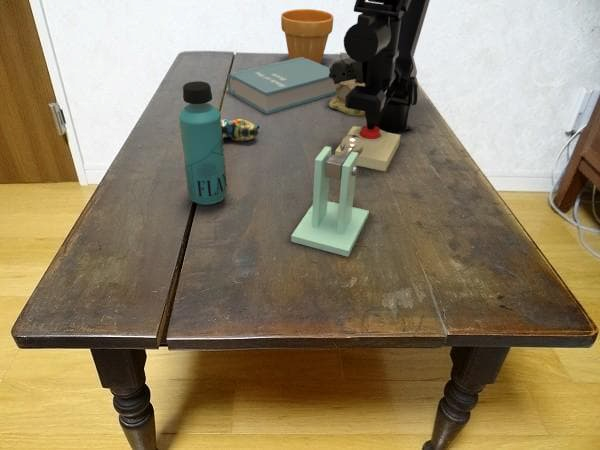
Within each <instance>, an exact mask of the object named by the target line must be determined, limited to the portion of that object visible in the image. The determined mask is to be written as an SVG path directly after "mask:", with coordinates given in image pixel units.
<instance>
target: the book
mask: <svg viewBox="0 0 600 450" xmlns="http://www.w3.org/2000/svg"><path fill="white" fill-rule="evenodd" d="M329 69H330V67H329V66H326V65H324V64H322V63H321V64H319V63H316V62H314V61H312V60H309V59H305V58H304V57H300V58H295V59H291V60H290V59H287V60H283V61H278V62H273V63H270V64H265V65H260V66H256V67H251V68H247V69H243V70H238V71H234V72H230V73H228V74H227V89H228V92H229V94H231V95H232V96H234V97H235V98H237V99H239V100H241V101H243V102H244V103H246V104H248V105H249V106H252V107H253V108H255V109H256V110H258V111H260V112H262V113H263V114H265V115H269V114H272V113H276V112H280V111H283V110H287V109H289V108H293V107H297V106H300V105H303V104H307V103H310V102H314V101H318V100H321V99H325V98H327V97H330V96H335V95H336V92H337V91H336V89H335V88H336V86H337V85H338V84H334V81H333V79H332V78H330V77H329V74H330V70H329Z"/></svg>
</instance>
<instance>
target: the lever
mask: <svg viewBox="0 0 600 450" xmlns="http://www.w3.org/2000/svg"><path fill="white" fill-rule="evenodd" d="M340 144H341V145H340ZM340 144H339V145H340V149H341V154H340V155H339V156H338V155H335V154H331V157H330V158H329V159H328V161H327V162H326V172H325V177H327V178H329V179H333V180H336V181H341V176H342V165H343V164H344V162H345V161H346V159H347V158H348V156H349V155H350V153H351V152H357V153H358V156H359V155H360V154H361V153H362V151H363V148H364V145H363V141H362V140H361V138H360V137H358V136H356V135H348V136H346V135H345V136H344V137H343V139H342V140H341V142H340Z"/></svg>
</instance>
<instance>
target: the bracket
mask: <svg viewBox="0 0 600 450" xmlns="http://www.w3.org/2000/svg"><path fill="white" fill-rule="evenodd" d="M331 156H332V146H328V145H327V146H326V145H325V146H324V147H323V148H322V149H321V151H320V152H319V154H318V155H317V156H316V158H315V159H314V170H313V171H314V172H313V192H312V204H311V206H310V207H309V209H308V210H307V211H306V213H305V215H304V216H303V217H302V219H301V221H300V222H299V223H298V225H297V227H296V228H295V230H294V231H293V232H292V234H291V235H290V242H292V243H295V244H298V245H302V246H306V247H309V248H314V249H317V250H321V251H325V252H328V253H332V254H336V255H340V256H343V257H346V258H348V257H349V256H350V254H351V252H352V250H353V248H354V247H355V245H356V242H357V240H358V238H359V236H360V234H361V232H362V230H363V228H364V227H365V224H366V222H367V220H368V218H369V216H370V215H369V213H370V211H369V210H368V209H363V208H358V207H355V206H353V204H354V197H355V187H356V178H357V174H358V167H359V166H357V160H358V153H357V152H351V153H350V155H349V156H348V158H347V159H346V161H345V162H344V164H343V165H342V176H341V179H340V190H339V198H338V199H339V201H338V202H333V201H329V189H330V187H329V186H330V178H327V177H325V172H326V162H327V161H328V159H329V158H330V157H331Z"/></svg>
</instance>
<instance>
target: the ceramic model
mask: <svg viewBox="0 0 600 450" xmlns="http://www.w3.org/2000/svg"><path fill="white" fill-rule="evenodd" d="M355 82H356V79H353V80H348V81H344V82H340V83H339V84H338V85H337V86H336V88H335V89H336V91H337V92H336V94H335V95H336V96H335V97H333V98H331V99H330V102H329V103H328V107H329V108H331V109H334V110H337V111H339V112H342V113H344V114H346V115H348V116H356V117H361V116H362V117H363V116H365V111H360V110H355V109H349V108H346V107H345V99H346V95H347V94H348V93H349V92H350V91H351V89H353V88H354V87H355V86H357V85H358V86H365V83H362V84H360V83H355Z"/></svg>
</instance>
